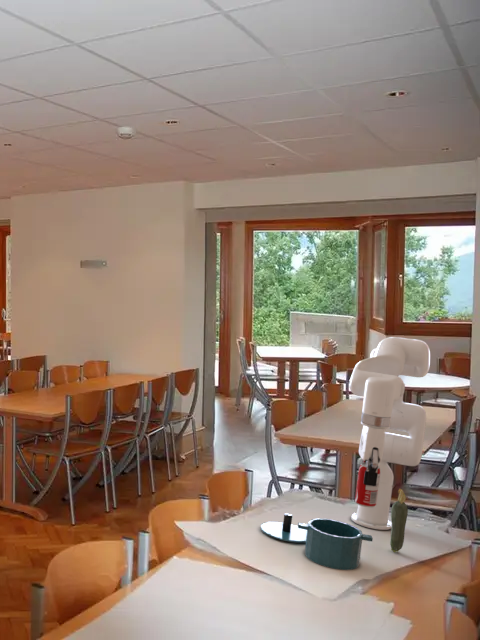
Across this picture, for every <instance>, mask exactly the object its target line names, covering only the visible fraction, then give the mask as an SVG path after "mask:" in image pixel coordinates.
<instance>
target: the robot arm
mask: <svg viewBox="0 0 480 640" xmlns="http://www.w3.org/2000/svg"><path fill="white" fill-rule="evenodd" d="M430 365H431V351H430V347H429V345H428V344H427V342H425V341H423V340H421V339H415V338H405V337H399V336H398V337H396V336H389V337H385V338H383V339H382V340H381V341H380V342H379V343H378V345H377V347H376V348H373V349H372V350H371V351H370V355H369V357H368V358H365V359H362V360H359V362H357V363H356V364H355V366H354V368H353V370H352V373H351V376H350V379H349V389H350V392H351V394H353V395H355V396H358V397H363V401H362V410H361V418H360V425H362V429H361V434H360V439H359V440H360V441H359V447H358V455H359V456H360V458H361V459H362V462H361V463H363V462H364V463H367V468H366V471H365V475H364V485H370V486H376V483H377V475H378V466H379V467H380V478H379V486H378V494H377V501H376V505H375V506H374V507H363V506H360V505H358V504H357V509H356V513H355V512H354V513H352V514H351V517H350V520H351V521H352V522H353V523H355V524H357V525H359V526H361V527H365V528H368V529H371V530H372V529H373V530H378V531H379V530H380V531H387V530H392V522H391V520H390V519H389V518H390V517H389V515H390V509H391V500H392V494H393V486H394V478H395V477H394V472H393V470H392V468H391V467H390V465H389V464H391V463H392V464H397V465H402V466H408V467H417V466H419V464H420V463H421V461H422V456H423V450H424V441H425V434H426V425H427V412H426V410H425V408H424V407H423V406H421V405H419V404H415V403H409V402H405V401H404V394H405V390H406V385H405V382H404V380H403V379H402V378H401V377H400V376H403V377H404V376H405V377H410V378H424V377H425V376H426V375H427V374H428V373H429V370H430V367H431V366H430ZM386 430H393V431H399V432H405V433H407V434H408V435H401V434H396V433H391V432H386ZM370 463H372V464H370ZM388 463H389V464H388ZM369 464H370V465H369Z"/></svg>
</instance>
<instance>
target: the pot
mask: <svg viewBox="0 0 480 640" xmlns="http://www.w3.org/2000/svg"><path fill="white" fill-rule="evenodd" d="M297 526H298V528H299V529H305V530H307V536H306V542H305V546H304V555H305V557H306V558H307V559H308V560H309V561H311V562H313V563H315V564H317V565H320V566H323V567H326V568H329V569H334V570H342V571H351V570H355V569H357V568H358V567H359V565H360V562H361V561H360V560H361V553H362V546H363V545H362V544H363V541H366V542H373V540H374V537H373V535H371V534H366V533H363V532H362V530H361V529H359V528H358V527H357V526H355V525H352V524H350V523H348V522H345V521H341V520H336V519H330V518H312V519H309V521H307V523H303V522H298V523H297Z"/></svg>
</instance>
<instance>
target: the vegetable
mask: <svg viewBox="0 0 480 640" xmlns="http://www.w3.org/2000/svg"><path fill="white" fill-rule="evenodd" d="M397 493H398V496H397V501H395V502H393V504H392V506H391V508H390V509H391V511H390V521H391V522H392V528H391V529H390V530H391V531H390V542H389V545H390V549H391V551H392V552H393V553H395V552H399V551H401V549H402V548H403V546H404V543H405V542H404V541H405V531H406V524H407V519H408V515H409V513H408V512H409V510H408V506H407V504H406V503H405V502H406V500H407V495H406V494H405V492H404V490H403V489H402V488H398V491H397Z"/></svg>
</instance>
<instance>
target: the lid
mask: <svg viewBox="0 0 480 640" xmlns="http://www.w3.org/2000/svg"><path fill="white" fill-rule="evenodd" d="M292 522H293V514H292V513H289V512H285V513H284V514H283V521H266V522H263V523H261V525H260V530H261V532H262V533H264V534H265V535H267V536H269V537H271V538H274V539H276V540H280V541H284V542H288V543H289V542H290V543H306V536H307V530H305V529H299V528H298V524H297V525H296V524H293V523H292Z"/></svg>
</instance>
